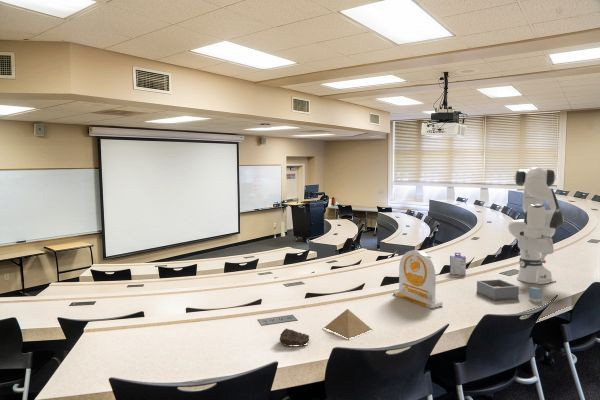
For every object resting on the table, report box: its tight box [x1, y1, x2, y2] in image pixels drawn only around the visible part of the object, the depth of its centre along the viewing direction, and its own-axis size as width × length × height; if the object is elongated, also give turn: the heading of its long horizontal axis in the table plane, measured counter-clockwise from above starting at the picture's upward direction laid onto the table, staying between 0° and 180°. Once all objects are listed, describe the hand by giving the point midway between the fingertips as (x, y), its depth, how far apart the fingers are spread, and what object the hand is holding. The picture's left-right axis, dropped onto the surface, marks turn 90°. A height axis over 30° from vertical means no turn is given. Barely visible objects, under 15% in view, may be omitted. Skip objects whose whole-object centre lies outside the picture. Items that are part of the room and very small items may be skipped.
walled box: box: [476, 278, 520, 302], centre depth 223 cm, size 15×15×7 cm
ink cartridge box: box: [449, 252, 467, 276], centre depth 271 cm, size 10×6×14 cm, turn 78°
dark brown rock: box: [279, 328, 310, 346], centre depth 163 cm, size 12×10×5 cm
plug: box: [528, 286, 542, 303], centre depth 214 cm, size 4×4×7 cm
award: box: [392, 249, 444, 309], centre depth 216 cm, size 28×9×28 cm, turn 29°
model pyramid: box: [323, 308, 373, 339], centre depth 177 cm, size 17×17×10 cm
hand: (534, 259), depth 213 cm, fingers open, 8 cm apart
